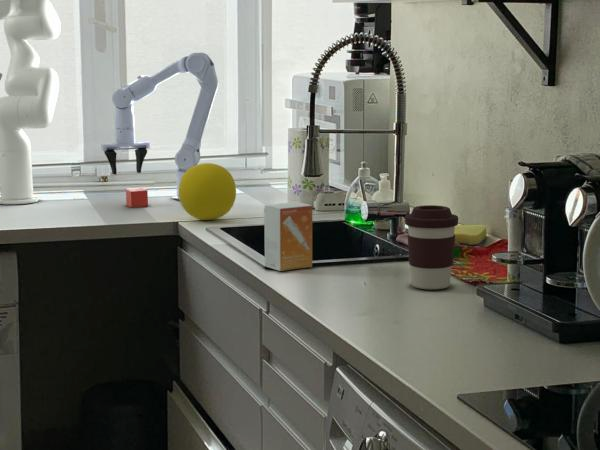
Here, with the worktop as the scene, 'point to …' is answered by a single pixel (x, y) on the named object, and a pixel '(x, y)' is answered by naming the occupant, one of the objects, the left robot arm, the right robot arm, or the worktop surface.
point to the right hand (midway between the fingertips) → (126, 173)
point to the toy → (207, 191)
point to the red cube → (136, 197)
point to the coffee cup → (431, 245)
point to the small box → (288, 236)
